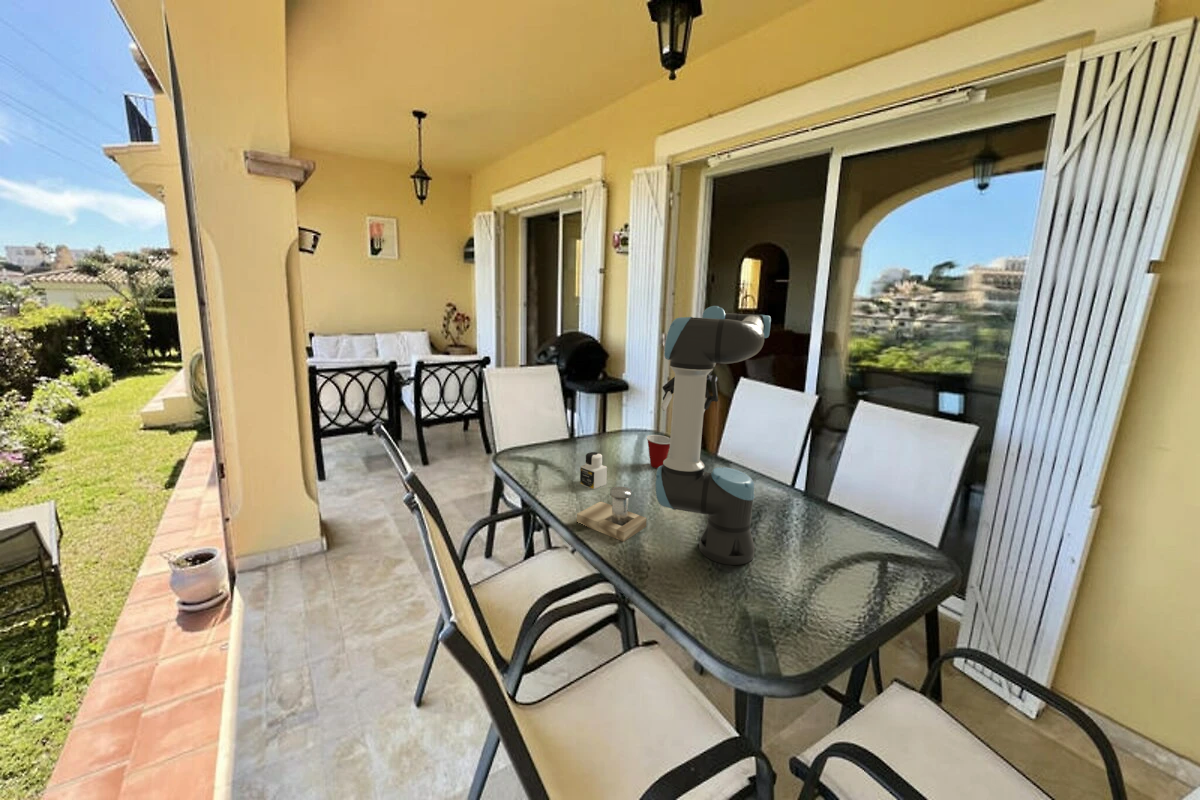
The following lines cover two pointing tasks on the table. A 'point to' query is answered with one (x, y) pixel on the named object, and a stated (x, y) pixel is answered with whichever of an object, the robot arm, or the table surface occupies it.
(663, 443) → the plastic cup
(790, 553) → the table surface
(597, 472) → the medicine bottle
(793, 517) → the table surface
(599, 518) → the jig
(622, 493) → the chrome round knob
